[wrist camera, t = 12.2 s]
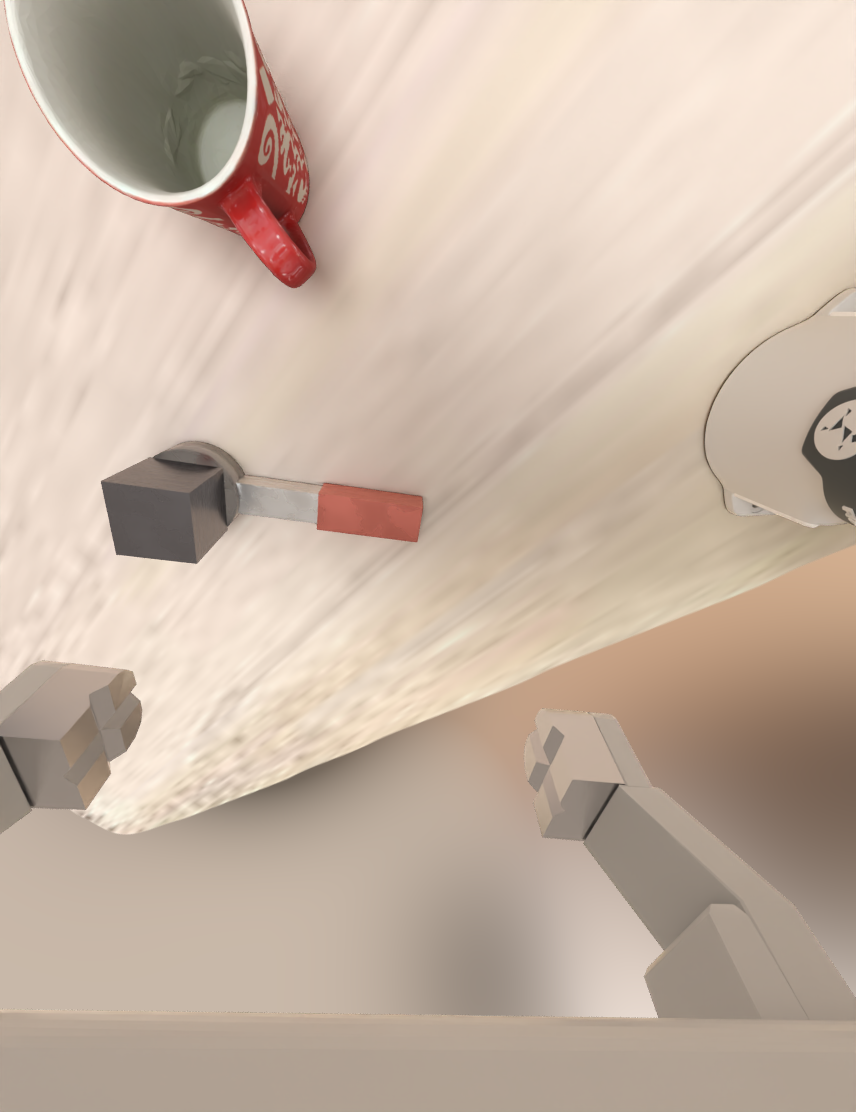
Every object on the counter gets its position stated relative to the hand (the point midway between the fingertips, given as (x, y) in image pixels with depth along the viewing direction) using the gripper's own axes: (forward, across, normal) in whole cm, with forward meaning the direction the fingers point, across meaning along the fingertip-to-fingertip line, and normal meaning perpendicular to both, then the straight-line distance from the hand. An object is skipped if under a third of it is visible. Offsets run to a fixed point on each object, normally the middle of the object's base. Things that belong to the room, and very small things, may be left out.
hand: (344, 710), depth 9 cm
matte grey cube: (+27, +16, +8) cm, 33 cm away
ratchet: (+30, +8, +8) cm, 33 cm away
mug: (+31, +10, -13) cm, 35 cm away
